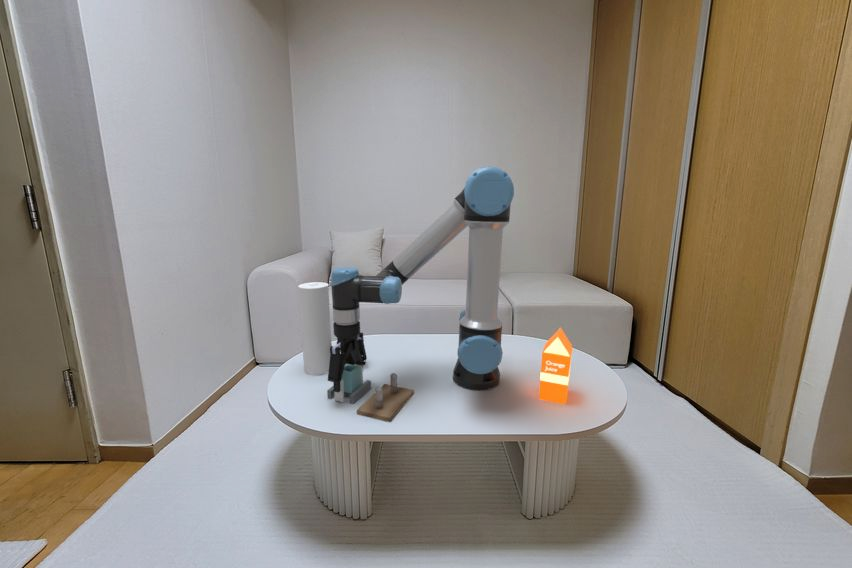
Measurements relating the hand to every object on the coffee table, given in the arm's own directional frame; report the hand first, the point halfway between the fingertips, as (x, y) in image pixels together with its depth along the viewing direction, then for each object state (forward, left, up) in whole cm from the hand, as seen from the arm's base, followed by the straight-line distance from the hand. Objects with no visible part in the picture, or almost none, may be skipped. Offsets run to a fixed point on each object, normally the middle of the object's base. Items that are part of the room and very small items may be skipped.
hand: (349, 392), depth 112 cm
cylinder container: (+19, -10, 0) cm, 21 cm away
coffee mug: (+10, -15, 0) cm, 18 cm away
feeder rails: (0, 0, 0) cm, 0 cm away
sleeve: (0, 0, 0) cm, 0 cm away
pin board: (-13, +1, 0) cm, 13 cm away
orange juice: (-57, -22, -1) cm, 61 cm away
